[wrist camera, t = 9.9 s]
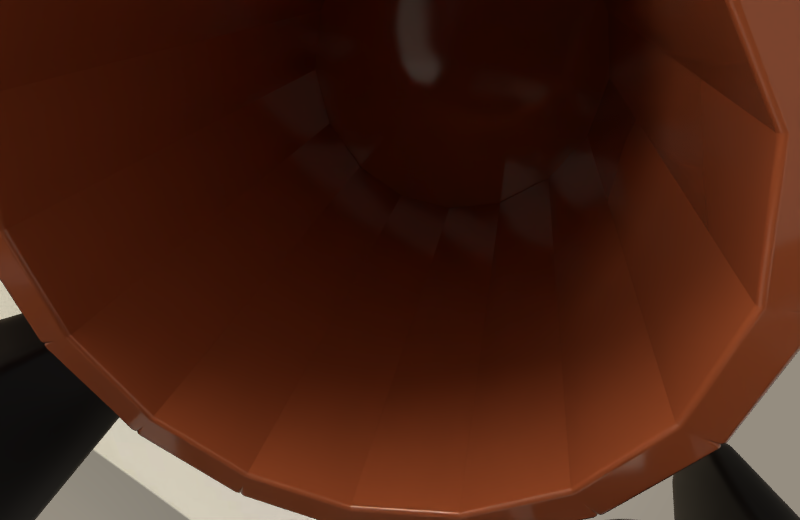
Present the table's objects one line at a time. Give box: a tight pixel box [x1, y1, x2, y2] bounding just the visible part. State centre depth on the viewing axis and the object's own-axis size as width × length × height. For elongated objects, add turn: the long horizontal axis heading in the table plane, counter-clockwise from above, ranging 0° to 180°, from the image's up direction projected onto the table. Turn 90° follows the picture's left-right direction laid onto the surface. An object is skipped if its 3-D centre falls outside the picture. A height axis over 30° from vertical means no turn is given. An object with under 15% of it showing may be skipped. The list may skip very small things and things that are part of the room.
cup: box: [0, 0, 800, 520], centre depth 7 cm, size 6×6×8 cm
